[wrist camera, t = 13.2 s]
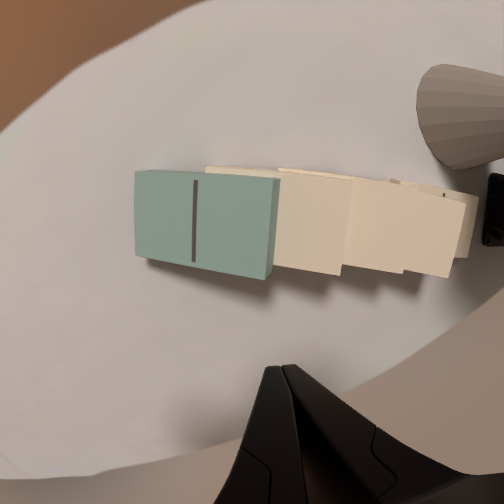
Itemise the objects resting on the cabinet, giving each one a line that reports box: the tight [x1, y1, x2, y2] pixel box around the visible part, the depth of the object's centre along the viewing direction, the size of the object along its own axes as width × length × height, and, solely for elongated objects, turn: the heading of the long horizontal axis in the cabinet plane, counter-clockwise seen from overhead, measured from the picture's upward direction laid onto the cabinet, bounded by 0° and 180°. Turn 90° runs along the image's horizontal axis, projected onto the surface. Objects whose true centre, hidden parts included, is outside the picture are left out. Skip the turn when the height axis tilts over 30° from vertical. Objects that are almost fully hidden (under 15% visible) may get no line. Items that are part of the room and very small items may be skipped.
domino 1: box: [134, 170, 281, 280], centre depth 17 cm, size 2×5×8 cm
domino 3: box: [278, 168, 418, 274], centre depth 18 cm, size 2×5×8 cm
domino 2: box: [205, 166, 353, 276], centre depth 17 cm, size 2×5×8 cm
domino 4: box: [404, 191, 466, 278], centre depth 19 cm, size 2×5×8 cm
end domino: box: [390, 178, 479, 258], centre depth 20 cm, size 2×5×8 cm
